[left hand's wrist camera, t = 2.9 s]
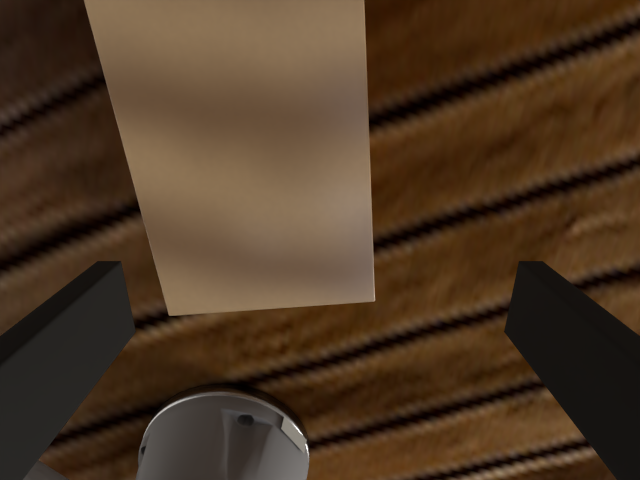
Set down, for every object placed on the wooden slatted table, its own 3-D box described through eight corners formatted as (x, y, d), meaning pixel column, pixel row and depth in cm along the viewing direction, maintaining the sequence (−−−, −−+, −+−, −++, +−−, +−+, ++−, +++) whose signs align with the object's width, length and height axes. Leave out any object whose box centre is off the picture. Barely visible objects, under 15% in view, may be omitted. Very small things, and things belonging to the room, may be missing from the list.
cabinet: (146, -91, 21) (25, -216, 12) (341, -113, 21) (355, -257, 12) (215, 247, 29) (168, 316, 20) (359, 236, 28) (375, 301, 20)
